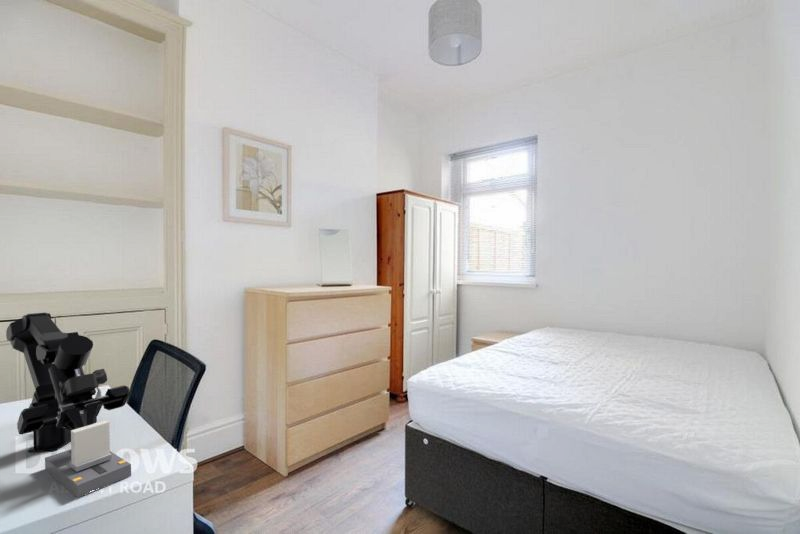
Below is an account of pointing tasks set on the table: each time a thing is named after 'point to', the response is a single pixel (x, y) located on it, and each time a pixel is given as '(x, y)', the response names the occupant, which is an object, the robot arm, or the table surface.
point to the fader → (90, 445)
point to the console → (86, 473)
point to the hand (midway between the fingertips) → (88, 440)
